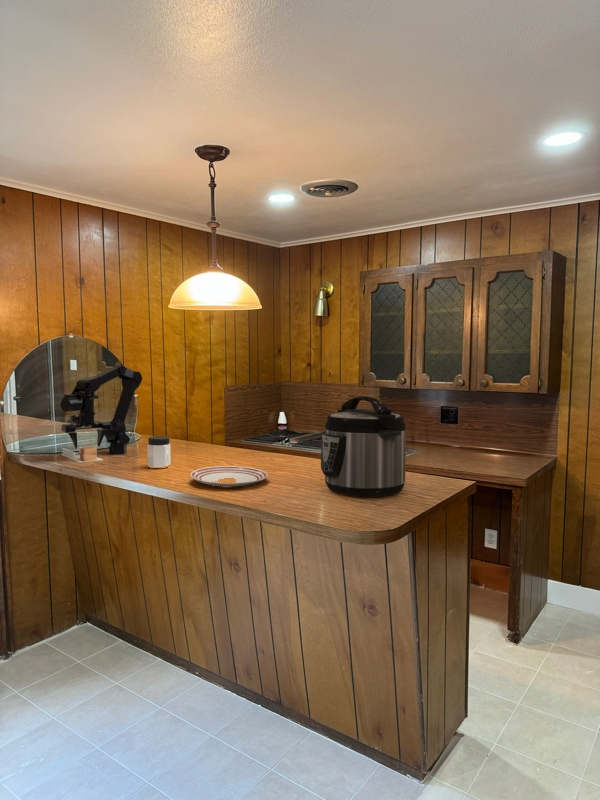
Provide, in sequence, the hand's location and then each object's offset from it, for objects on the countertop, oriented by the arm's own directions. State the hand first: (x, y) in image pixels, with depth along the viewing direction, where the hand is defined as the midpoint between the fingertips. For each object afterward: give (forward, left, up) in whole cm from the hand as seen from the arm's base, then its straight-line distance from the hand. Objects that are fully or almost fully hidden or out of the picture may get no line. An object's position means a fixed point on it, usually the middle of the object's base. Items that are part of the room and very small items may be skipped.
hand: (87, 447), depth 229 cm
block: (-1, +1, -5) cm, 5 cm away
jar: (-32, +5, -7) cm, 33 cm away
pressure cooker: (-112, +34, -7) cm, 117 cm away
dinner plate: (-65, +27, -7) cm, 71 cm away
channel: (+5, -5, -6) cm, 9 cm away
